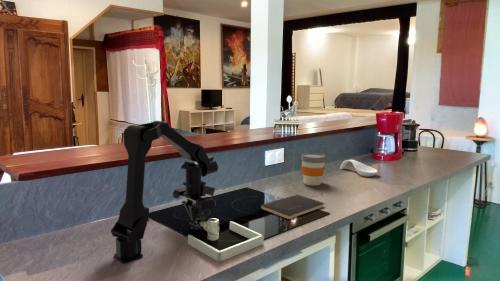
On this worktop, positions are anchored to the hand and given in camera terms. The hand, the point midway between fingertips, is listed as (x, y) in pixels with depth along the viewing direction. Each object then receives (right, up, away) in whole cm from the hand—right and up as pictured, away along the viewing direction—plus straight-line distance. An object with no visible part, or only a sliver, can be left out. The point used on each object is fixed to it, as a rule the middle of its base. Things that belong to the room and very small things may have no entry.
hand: (193, 220), depth 137 cm
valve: (+5, -4, -6) cm, 9 cm away
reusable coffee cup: (+53, +7, +61) cm, 81 cm away
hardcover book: (+39, 0, +23) cm, 45 cm away
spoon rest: (+84, +10, +84) cm, 119 cm away
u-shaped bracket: (+13, -5, -13) cm, 18 cm away
